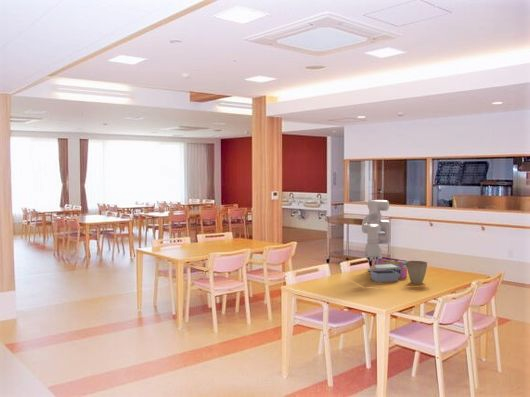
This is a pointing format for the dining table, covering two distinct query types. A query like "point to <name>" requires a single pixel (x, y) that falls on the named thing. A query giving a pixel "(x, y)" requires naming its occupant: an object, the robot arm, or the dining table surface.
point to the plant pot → (416, 271)
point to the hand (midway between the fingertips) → (372, 265)
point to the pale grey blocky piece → (381, 266)
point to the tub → (384, 276)
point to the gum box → (399, 263)
